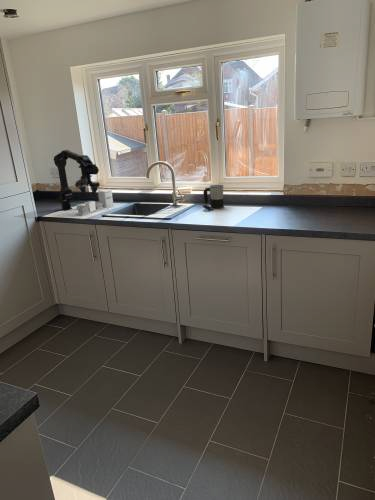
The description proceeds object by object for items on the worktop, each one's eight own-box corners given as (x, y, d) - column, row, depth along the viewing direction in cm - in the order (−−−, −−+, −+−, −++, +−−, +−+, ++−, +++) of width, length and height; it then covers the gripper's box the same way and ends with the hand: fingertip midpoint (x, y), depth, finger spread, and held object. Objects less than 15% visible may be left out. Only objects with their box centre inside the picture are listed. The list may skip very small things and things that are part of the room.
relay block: (77, 209, 297) (76, 205, 296) (79, 208, 301) (79, 203, 299) (81, 209, 296) (81, 205, 295) (84, 208, 299) (83, 203, 298)
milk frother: (224, 205, 274) (223, 184, 270) (224, 210, 259) (223, 188, 255) (203, 206, 276) (202, 185, 271) (202, 211, 261) (201, 189, 256)
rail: (76, 215, 277) (75, 207, 276) (99, 208, 295) (98, 201, 293) (82, 215, 274) (81, 207, 272) (105, 208, 291) (104, 201, 290)
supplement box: (106, 208, 292) (104, 191, 288) (99, 208, 296) (97, 191, 293) (113, 206, 298) (111, 189, 294) (107, 206, 302) (105, 189, 298)
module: (85, 210, 283) (84, 202, 281) (91, 209, 287) (90, 200, 285) (90, 211, 281) (89, 202, 279) (95, 209, 285) (94, 200, 283)
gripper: (67, 175, 275) (71, 198, 279) (86, 176, 265) (90, 199, 270) (79, 173, 284) (83, 195, 288) (98, 173, 274) (101, 196, 278)
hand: (89, 196), depth 281 cm, fingers open, 9 cm apart
